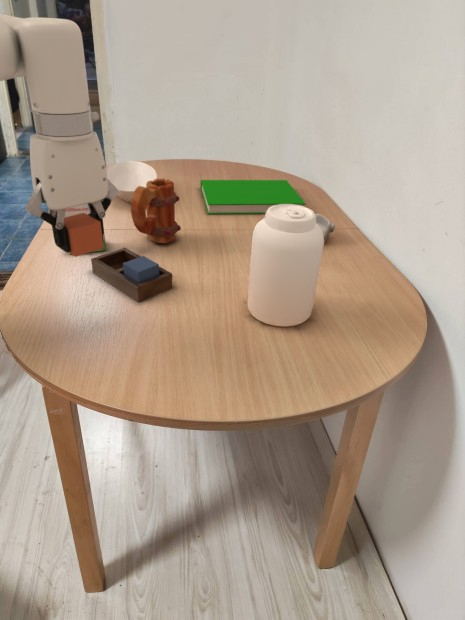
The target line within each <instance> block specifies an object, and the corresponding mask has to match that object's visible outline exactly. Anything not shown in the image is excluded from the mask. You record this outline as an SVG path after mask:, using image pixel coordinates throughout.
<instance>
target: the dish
mask: <svg viewBox="0 0 465 620" xmlns="http://www.w3.org/2000/svg"><path fill="white" fill-rule="evenodd" d="M315 216H316V223H317V225H318V226H319V227H320V228H321V229H322V232H323V237H324V243H325V242H326V241H327V240H328V238H329V235H330V233H334V232H335V228H336V224H335V223H331V220H330V219H329V218H327V217H326V216H324V215H322V214H320V213H315Z"/></svg>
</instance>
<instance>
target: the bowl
mask: <svg viewBox="0 0 465 620" xmlns="http://www.w3.org/2000/svg"><path fill="white" fill-rule="evenodd" d="M106 172H107V179H108V180H109V181H110V182H111V183H112V184H113V185H114V186H115V187H116V188H117V189H118V191H119V192H118V194H117V195H116V197H118V198H120V199H122V200H124V201H125V202H128V203H132V198H133V195H134V192H135V189H136V188H137V187H138V186H142V187H146V184H147V182H148V181H154V179H158V174H157V172H156V170H155V169H154V168H153V167H152V165H149V164H147V163H146V162H145V163H144V162H142V161H135V160H125V161H119V162H117V163H114V164H113V165H111V166H109V168H108V169H106Z"/></svg>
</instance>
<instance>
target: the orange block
mask: <svg viewBox="0 0 465 620" xmlns="http://www.w3.org/2000/svg"><path fill="white" fill-rule="evenodd" d="M64 227H66V228H67V229H68V234H69V241H70V247H71V251H70V252H69V253H70V254H69V255H72V256H74V257H79V256H82V255H85V254H88V253H93V252H92V251H95V250H99V249H102V248H103V239H102V231H101V222H100V221H98V220H96V219H94V218H93V217H91V216H89V215H87V214H85V213H80V214H76V215H72V216H68V217H65V220H64Z"/></svg>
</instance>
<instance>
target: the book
mask: <svg viewBox="0 0 465 620" xmlns="http://www.w3.org/2000/svg"><path fill="white" fill-rule="evenodd" d="M200 192H201V195H202V200H203V202H204V205H205V208H206V212H207V215H265V213H266V212H267V210H268V209H269V207H272V206H274V205H279V204H294V205H300V206H303V207H305V206H306V202H305V201H304V199H302V197H301V196H300V195H299V193H298V192H297V191H296V189H295V188H294V187H293V186H292V185H291V183H289V181H288V180H287V179H200Z"/></svg>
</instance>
